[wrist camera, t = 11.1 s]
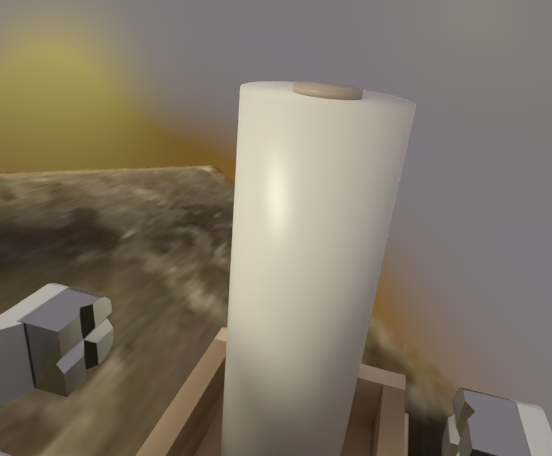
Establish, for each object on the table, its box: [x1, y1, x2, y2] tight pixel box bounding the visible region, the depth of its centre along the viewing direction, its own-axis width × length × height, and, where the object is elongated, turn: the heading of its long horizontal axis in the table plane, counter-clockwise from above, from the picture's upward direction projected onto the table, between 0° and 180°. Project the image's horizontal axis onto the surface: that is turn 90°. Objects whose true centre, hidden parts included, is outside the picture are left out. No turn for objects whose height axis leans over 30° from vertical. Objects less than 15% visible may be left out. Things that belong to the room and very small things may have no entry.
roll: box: [221, 81, 416, 456], centre depth 16 cm, size 5×5×16 cm
